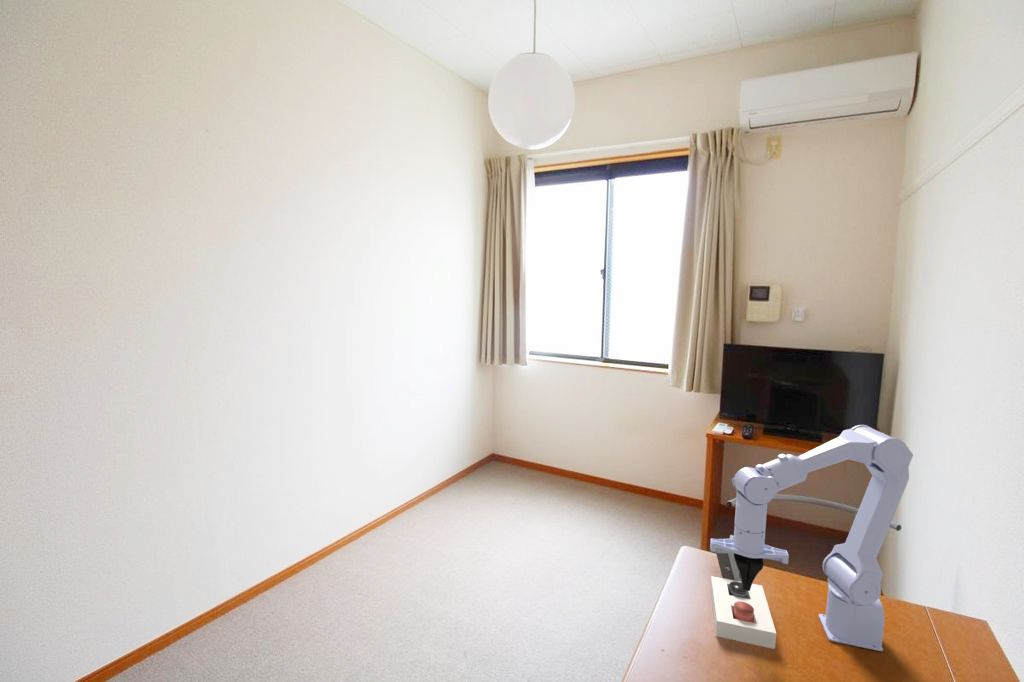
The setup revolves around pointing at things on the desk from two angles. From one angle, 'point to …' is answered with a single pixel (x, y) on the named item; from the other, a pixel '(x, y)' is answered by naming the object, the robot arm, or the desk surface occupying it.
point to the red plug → (743, 611)
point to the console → (739, 630)
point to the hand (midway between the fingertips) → (745, 587)
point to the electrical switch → (728, 565)
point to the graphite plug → (737, 590)
